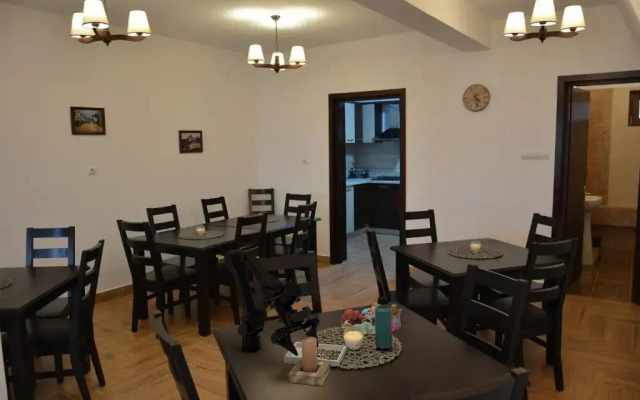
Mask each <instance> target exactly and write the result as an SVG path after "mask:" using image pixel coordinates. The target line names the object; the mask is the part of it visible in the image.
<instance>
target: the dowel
mask: <svg viewBox="0 0 640 400" xmlns="http://www.w3.org/2000/svg"><path fill="white" fill-rule="evenodd" d="M317 339H318V338H317ZM317 339H316V338H315V337H307V336H305V337H302V338H301V342H302V367H303V372H312V373H317Z"/></svg>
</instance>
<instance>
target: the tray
mask: <svg viewBox="0 0 640 400" xmlns="http://www.w3.org/2000/svg"><path fill="white" fill-rule="evenodd" d="M293 344H294V346H295V348H296V350H297V352H298V356H295V355H294V354H292V353H291V352H290V351H288V350H287V352H286V353H285V355H284V358H283V361H284V364H289V365H296V363H297V362H298V360H302V341H295V342H294V343H293ZM318 345H319V347H318V348H317V349H324V350H337V351H341V353H340V355H339V357H338V359H337V360H327V359H323V357H322V359H320V358H319V357H317V358H318V359H317V361H320V362H330V365H331V366H339V364H340V362H341V360H342V358H343V357H344V355H345V353H346V351H347V352H348V349H347V348H348V346H347V345H341V344H328V343H319V342H318ZM346 354H347V353H346ZM318 355H320V354H318ZM322 355H324V354H322ZM345 356H346V355H345ZM344 358H345V357H344ZM339 367H340V366H339Z"/></svg>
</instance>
